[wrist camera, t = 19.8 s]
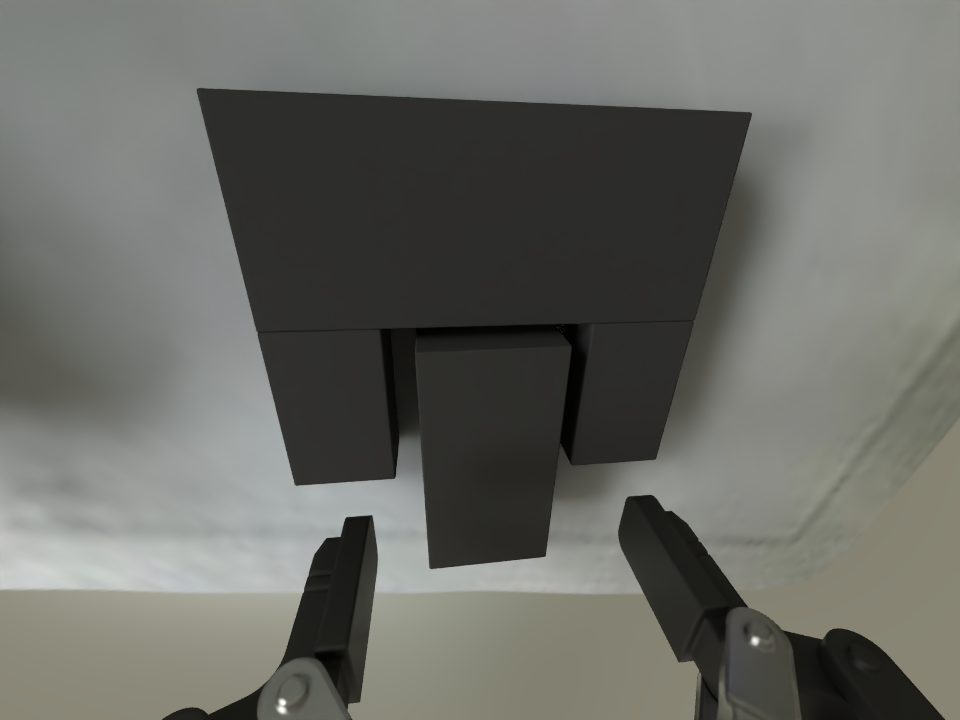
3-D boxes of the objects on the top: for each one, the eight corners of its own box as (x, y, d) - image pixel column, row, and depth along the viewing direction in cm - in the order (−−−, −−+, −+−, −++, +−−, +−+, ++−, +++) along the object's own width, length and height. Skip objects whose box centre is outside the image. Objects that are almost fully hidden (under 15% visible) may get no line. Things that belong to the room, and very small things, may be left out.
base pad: (696, 122, 13) (753, 111, 11) (627, 424, 18) (656, 460, 16) (240, 104, 11) (194, 87, 9) (312, 443, 16) (294, 486, 14)
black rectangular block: (547, 314, 15) (572, 346, 12) (529, 504, 19) (546, 557, 17) (416, 318, 14) (414, 353, 12) (428, 513, 19) (429, 570, 16)
